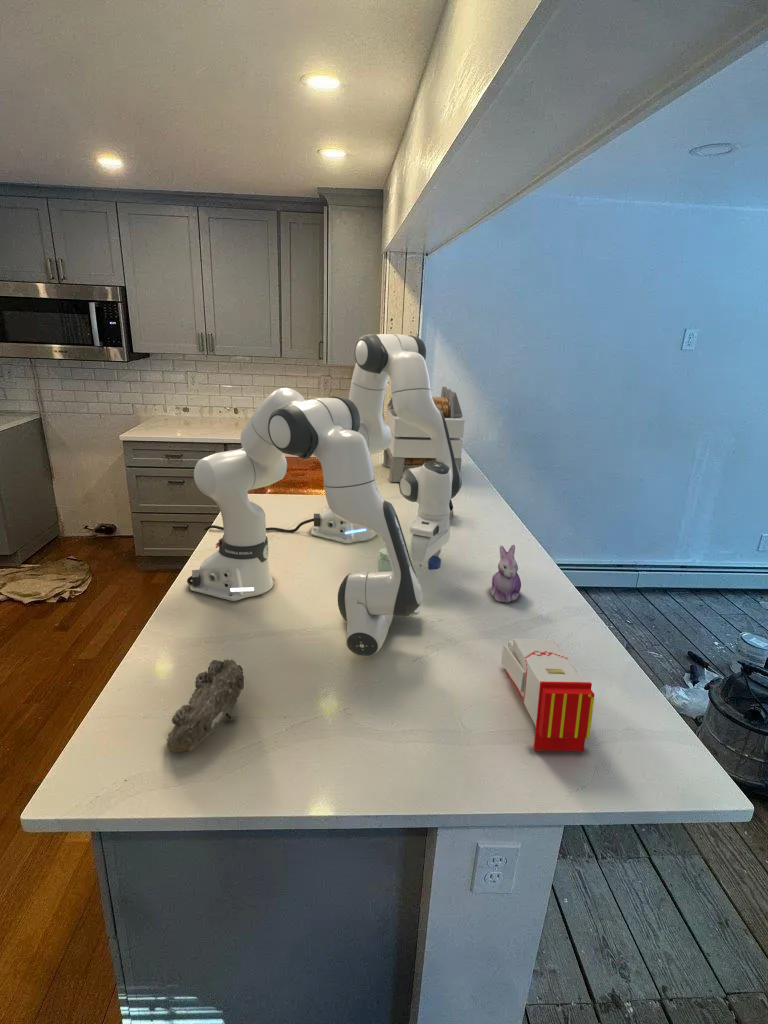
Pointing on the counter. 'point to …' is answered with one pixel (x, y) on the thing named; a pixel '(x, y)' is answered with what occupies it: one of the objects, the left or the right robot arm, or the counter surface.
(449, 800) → the counter surface
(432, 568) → the lid
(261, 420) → the left robot arm
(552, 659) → the toy
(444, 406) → the transformer
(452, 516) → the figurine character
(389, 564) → the jar
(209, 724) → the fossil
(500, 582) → the figurine
